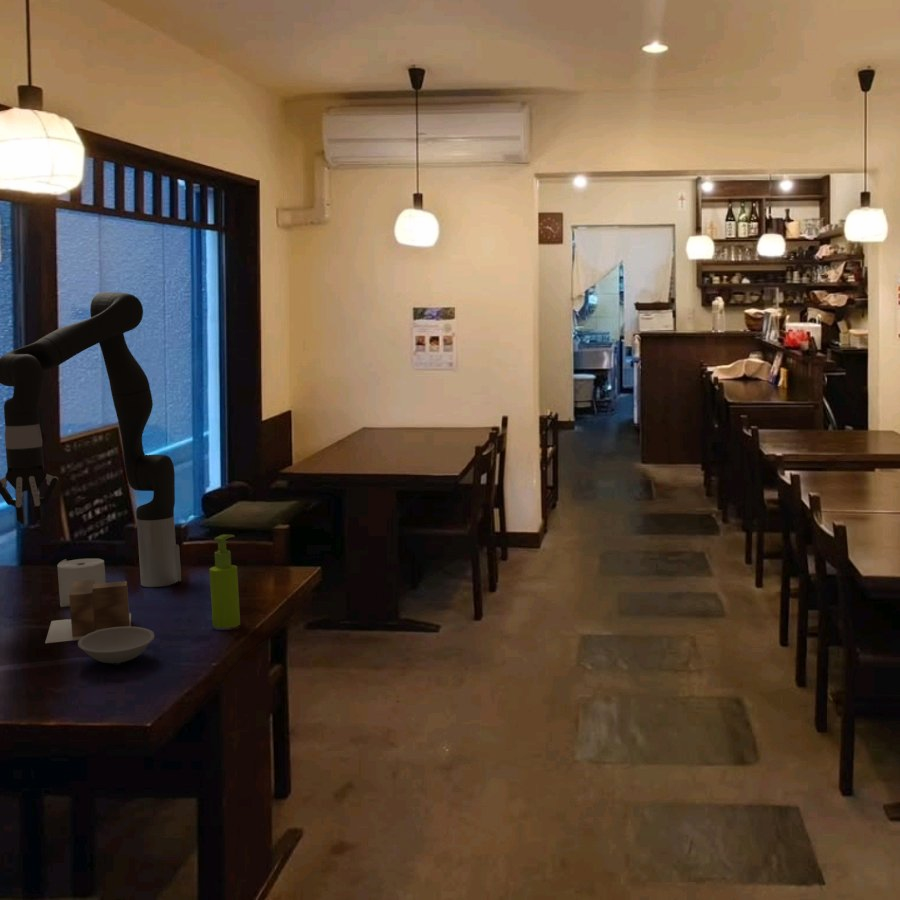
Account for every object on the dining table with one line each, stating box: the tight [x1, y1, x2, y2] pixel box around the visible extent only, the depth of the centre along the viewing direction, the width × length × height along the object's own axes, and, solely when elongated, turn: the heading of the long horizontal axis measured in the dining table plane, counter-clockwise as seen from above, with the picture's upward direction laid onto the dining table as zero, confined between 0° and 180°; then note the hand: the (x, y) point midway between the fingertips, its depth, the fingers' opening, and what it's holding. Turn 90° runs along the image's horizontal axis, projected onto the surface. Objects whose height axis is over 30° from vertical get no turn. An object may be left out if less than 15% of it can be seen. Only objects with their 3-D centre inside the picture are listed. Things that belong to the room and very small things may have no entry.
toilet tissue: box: [57, 558, 107, 608], centre depth 259 cm, size 11×12×10 cm
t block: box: [69, 580, 130, 637], centre depth 234 cm, size 12×13×9 cm
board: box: [44, 612, 132, 644], centre depth 236 cm, size 30×18×1 cm, turn 106°
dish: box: [77, 625, 156, 664], centre depth 211 cm, size 18×14×5 cm
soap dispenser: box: [209, 534, 241, 628], centre depth 235 cm, size 6×7×20 cm
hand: (29, 522), depth 240 cm, fingers open, 2 cm apart
